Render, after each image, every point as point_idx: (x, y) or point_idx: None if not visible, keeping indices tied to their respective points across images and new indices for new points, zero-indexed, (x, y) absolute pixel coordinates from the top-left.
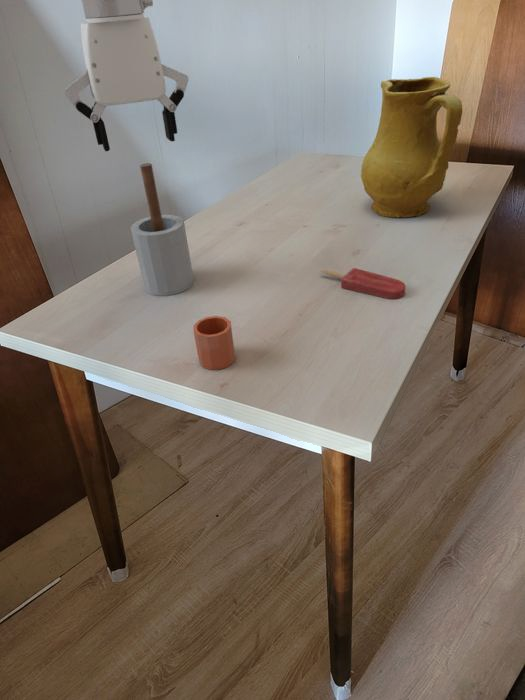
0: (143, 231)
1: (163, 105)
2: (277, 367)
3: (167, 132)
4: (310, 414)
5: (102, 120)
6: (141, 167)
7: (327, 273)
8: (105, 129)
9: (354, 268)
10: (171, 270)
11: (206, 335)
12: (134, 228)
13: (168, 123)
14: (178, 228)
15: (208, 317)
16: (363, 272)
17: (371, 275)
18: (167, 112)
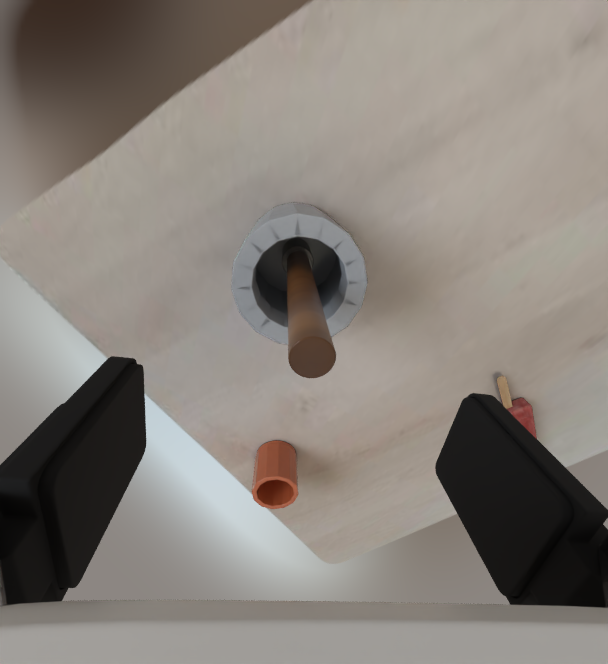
0: (256, 307)
1: (601, 578)
2: (322, 489)
3: (461, 468)
4: (310, 539)
5: (58, 533)
6: (290, 365)
7: (499, 388)
8: (97, 544)
9: (529, 408)
10: None
11: (261, 504)
12: (241, 272)
13: (480, 543)
14: (332, 335)
15: (278, 478)
16: (528, 419)
17: (527, 429)
18: (530, 598)
